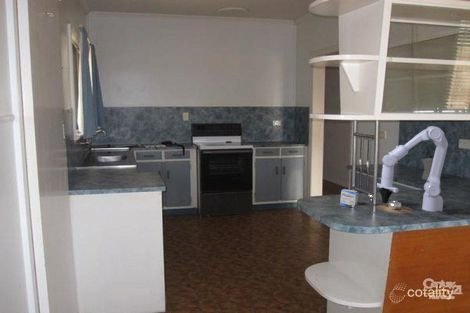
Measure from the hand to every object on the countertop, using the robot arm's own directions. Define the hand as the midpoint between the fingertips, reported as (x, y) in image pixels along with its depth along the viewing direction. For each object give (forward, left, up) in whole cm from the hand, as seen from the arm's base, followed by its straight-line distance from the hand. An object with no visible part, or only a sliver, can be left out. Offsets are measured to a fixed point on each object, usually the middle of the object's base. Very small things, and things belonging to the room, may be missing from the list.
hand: (384, 202), depth 213 cm
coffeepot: (-98, -56, -3) cm, 113 cm away
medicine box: (+17, -8, -3) cm, 19 cm away
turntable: (0, +7, -3) cm, 7 cm away
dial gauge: (+7, -2, -3) cm, 8 cm away
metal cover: (0, +7, -1) cm, 7 cm away
